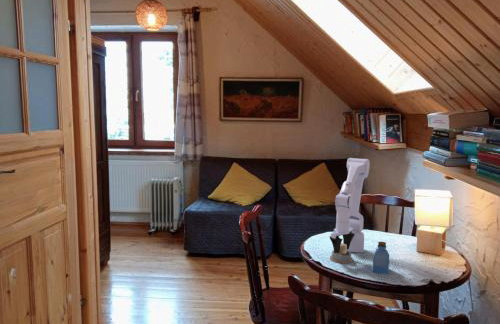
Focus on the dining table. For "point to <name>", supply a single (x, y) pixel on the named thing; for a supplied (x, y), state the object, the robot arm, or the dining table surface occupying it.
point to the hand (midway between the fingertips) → (341, 250)
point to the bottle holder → (341, 258)
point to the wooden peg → (342, 249)
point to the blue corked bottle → (381, 259)
